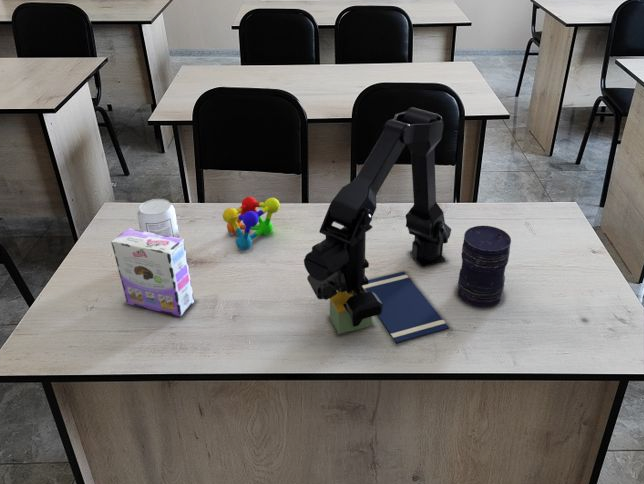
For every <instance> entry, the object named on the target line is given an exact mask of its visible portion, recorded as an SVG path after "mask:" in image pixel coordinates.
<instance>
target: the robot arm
mask: <svg viewBox="0 0 644 484" xmlns="http://www.w3.org/2000/svg"><path fill="white" fill-rule="evenodd" d="M443 120H444V119H443V117H442V116H441V115H440V114H439V113H434V112H432V111H428V110H424V109H420V108H416V107H409V108H408V109H407V110H406V111H402V112H399V113H395V114H394V117H393V118H391V119H388V120H387V121H386V122H385V123H384V125H383V127H382V133H381V135H380V137H379V138H378V140H377V141H376V143H375V145H374V147H373V148H372V149H371V152H370V153H369V155H368V157H367V158H366V160H365V161H364V164H363V165H362V167H361V168H360V170H359V171H358V173H357V175H356V177H355V178H354V179H353V180H352V181H351V182H349V183H347V184H345V185H344V186H342V187H341V188H340V190H339V191H338V193H336V195H335V196H334V197H333V199H332V200H331V202H330V203H329V206H328V208H327V211H326V213H325V215H324V218H323V221H322V223H321V226H320V228H319V231H318V232H319V234H322V235H324V236H325V239H323V240H322V241H320V242H318V243H316V244H314V245H313V246H312V247H311V251H310V252H308V253H307V254H305V256H304V258H303V264H304V268H305V270H306V272H307V273H308V275H307V277H306V279H307V281H308V283H309V285H310V287H311V289H312V292H313V293H314V295H315V297H316V298H317V299H318V300H324V301H328V300H330V298H331V297H333V296H335V295H336V294H337V292H345V291H346V293H347V294H353V296H351V297H350V298H349V299H348V300H347V301H346V304H343V306H344V307H345V309H346V311H347V312H348V313H349V315H350V316H351V319H352V323H353V326H354V327H356V326H358V325H359V324H360V323H361V321H362V320H363V319H365V318H368V317H376V316H377V315H380V314H381V313H382V310H383V304H382V303H381V301H380V300H379V298H378V297H377V295H376V294H375V293H373V292H366V291H365V290H364V289H363V287H362V286H363V285H367V284H368V281H369V280H370V279H369V278H368V277H367V276H366V269H367V268H369V267H370V262H369V261H368V260H367V258H366V240H367V239H366V237H367V236H366V235H367V234H366V233H367V232H369V231H370V230H372V229H373V225H372V224H371V222H372V220H373V217H374V214H375V212H376V210H377V195H378V193H379V191H380V189H381V188H382V186H383V184H384V183H385V181H386V180H387V177H388V176H389V174H390V172H391V170H392V169H393V167H394V165H395V164H396V162H397V161H398V158H399V157H400V155H401V154H402V152H403V150H404V148H405V147H407V149H408V150H409V151H410V161H411V177H412V180H411V181H412V195H413V205H412V206H411V208H410V209H409V211H408V212H407V213H406V214H405V228H407V231H408V234H409V235H413V236H414V239H413V241H412V242H411V243H412V244H411V245H412V246H411V250H410V251H409V254H410V255H411V257H412V258H413V259H414V260H415V261H416V262H417V264H419V265H420V266H421V267H427V266H431V265H436V264H441V263H444V262H446V258H445V257H444V255H443V252H444V244H447V243H448V242H449V238H450V236H451V233H452V228H451V226H449V225H447V223H446V220H445V214H444V213H445V212H444V211H443V209H442V208H441V206H440V205H439V203H438V202H437V190H436V189H437V188H436V187H437V186H436V156H435V153H436V152H435V148H436V146H437V145H438V144H439V143H440V142H441V140H442V138H443V132H444V121H443ZM334 223H335V224H337V225H340V226H342V227H341V228H340V227H337V226H335V225H333V224H334Z"/></svg>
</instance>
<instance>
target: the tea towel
mask: <svg viewBox="0 0 644 484" xmlns="http://www.w3.org/2000/svg"><path fill="white" fill-rule="evenodd" d="M368 280H369V281H368V284H367V285H363V288H364V289H365V291H366V292H373V293H375V294H376V295H377V297H378V298H379V300H380V301H381V303H382V304H383V310H382V313H381V314H380V315H376V316H377V318H378V319H379V320H380V322H381V323H382V325H383V327H384V328H385V329H386V331H387V332H388V334H389V335H390V337H391V339H392V340H393V342H394V343H395V344H399V343H400V344H401V343H404V342H407V341H411V340H414V339H418V338H421V337H425V336H428V335H432V334H436V333H440V332H442V331H445V330H449V329H450V327H449V326H448V324H447V323H446V321H445V320H444V319H443V318H442V316H440V314H439V313H438V312H437V310H436V309H435V308H434V307H433V305H432V304H431V302H429V300H428V299H427V298H426V297H425V295H424V294H423V293H422V292H421V291H420V289H419V288H418V287H417V285H416V284H415V283H414V281H412V279H411V277H410V276H409V275H408V274H407V272H405V271H400V272H396V273H392V274H387V275H383V276H379V277H375V278H371V279H370V278H369V279H368Z"/></svg>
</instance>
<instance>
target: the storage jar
mask: <svg viewBox="0 0 644 484" xmlns="http://www.w3.org/2000/svg"><path fill="white" fill-rule="evenodd" d="M511 244H512V238H511V236H510V235H509V234H508V233H507V231H504V230H503V229H501V228H499V227H496V226H492V225H475V226H472V227H469V228H468V229H467V230H466V231H465V232H464V234H463V242H462V245H461V246H462V247H461V268H460V270H459V273H458V280H457V285H458V286H457V296H458V298H459V299H460V300H461V301H462V302H463V303H464V304H466V305H468V306H470V307H473V308H478V309H490V308H493V307H495V306H497V305H498V304H500V302H501V301H502V298H503V292H504V289H505V281H506V275H505V273H506V267H507V265H508V263H509V258H510V253H511V250H510V249H511Z"/></svg>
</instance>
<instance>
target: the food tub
mask: <svg viewBox="0 0 644 484" xmlns="http://www.w3.org/2000/svg"><path fill="white" fill-rule="evenodd" d="M362 287H363V286H362ZM363 289H364V288H363ZM364 290H365V289H364ZM351 296H353V294H347V293H346V291H345V292H337V294H336V295H335V296H333V297H331V298H330V299H329V319H330V321H331V322H332V324H333V326H334V328H335V330H336V331H337V333H338V335H342V334H345V333H349V332H352V331H356V330H360V329H364V328H367V327H371V326H372V321H373V319H372V317H373V316H372V317H368V318H365V319H363V320H362V321H361V323H360V324H359V325H358V326H356V327H354V326H353V323H352V319H351V316H350V315H349V313H348V312H347V311H346V309H345V307H344V306H343V304H346V301H347V300H348V299H349V298H350V297H351Z"/></svg>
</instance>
